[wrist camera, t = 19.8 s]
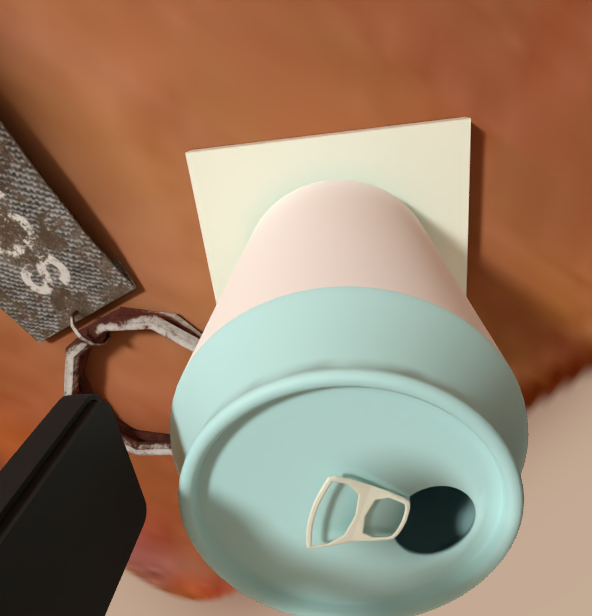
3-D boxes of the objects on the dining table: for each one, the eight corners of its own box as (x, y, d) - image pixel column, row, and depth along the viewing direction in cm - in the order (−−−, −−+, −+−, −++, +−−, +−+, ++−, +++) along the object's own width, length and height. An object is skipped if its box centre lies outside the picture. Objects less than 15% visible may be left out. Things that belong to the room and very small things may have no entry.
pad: (465, 117, 17) (471, 118, 16) (459, 360, 21) (464, 370, 21) (191, 149, 18) (185, 153, 18) (236, 375, 22) (233, 385, 22)
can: (389, 141, 17) (497, 257, 6) (453, 309, 19) (609, 602, 9) (215, 224, 18) (53, 431, 8) (294, 368, 21) (258, 677, 10)
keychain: (-17, 4, 17) (-59, -5, 15) (265, 402, 23) (260, 429, 22) (-155, 122, 19) (-205, 126, 17) (140, 458, 26) (125, 487, 24)
